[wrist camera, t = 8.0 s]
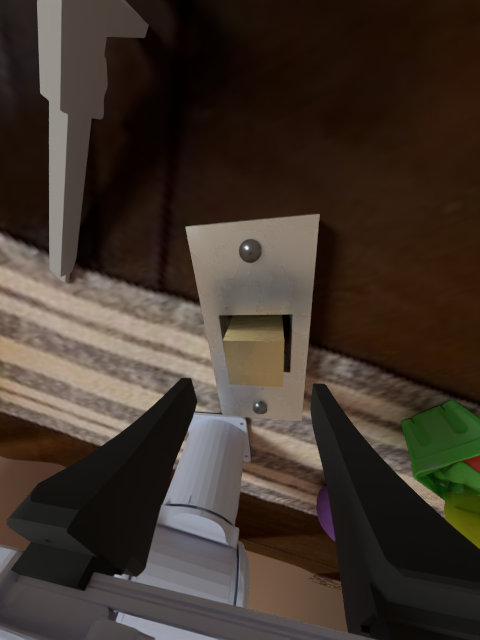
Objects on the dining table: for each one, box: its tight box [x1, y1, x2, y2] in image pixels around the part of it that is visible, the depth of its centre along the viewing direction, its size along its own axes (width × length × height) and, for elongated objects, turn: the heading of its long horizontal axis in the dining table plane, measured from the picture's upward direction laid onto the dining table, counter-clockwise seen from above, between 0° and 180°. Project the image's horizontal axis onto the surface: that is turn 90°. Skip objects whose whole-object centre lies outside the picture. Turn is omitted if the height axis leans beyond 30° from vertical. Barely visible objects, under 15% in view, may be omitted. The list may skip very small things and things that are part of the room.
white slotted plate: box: [186, 214, 320, 421], centre depth 17 cm, size 18×8×3 cm, turn 5°
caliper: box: [37, 0, 149, 283], centre depth 12 cm, size 20×1×6 cm, turn 142°
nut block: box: [223, 314, 284, 387], centre depth 16 cm, size 4×4×5 cm
